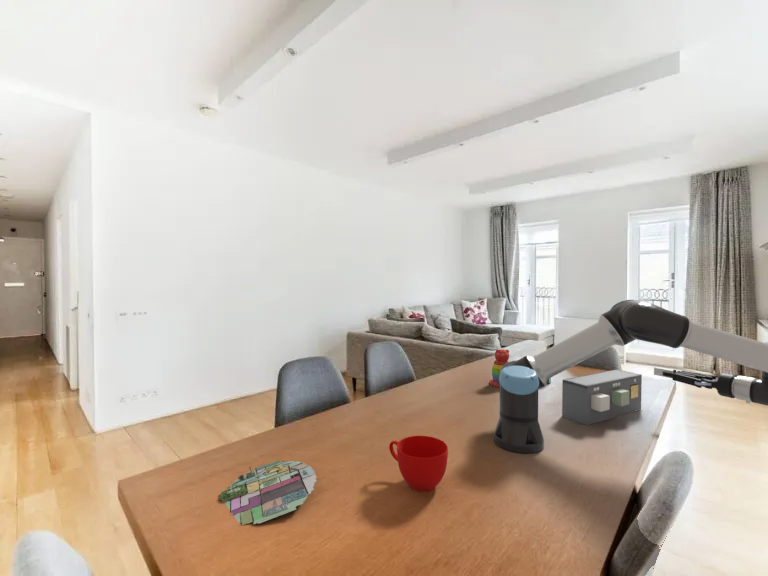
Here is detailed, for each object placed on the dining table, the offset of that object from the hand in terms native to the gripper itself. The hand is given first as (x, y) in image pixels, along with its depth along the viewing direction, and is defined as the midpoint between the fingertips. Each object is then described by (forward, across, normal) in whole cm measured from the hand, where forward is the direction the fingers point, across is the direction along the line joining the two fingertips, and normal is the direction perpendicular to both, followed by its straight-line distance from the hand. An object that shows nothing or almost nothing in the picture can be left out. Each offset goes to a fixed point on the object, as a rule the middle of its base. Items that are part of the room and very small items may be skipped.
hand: (655, 370), depth 141 cm
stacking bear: (+59, -19, -18) cm, 64 cm away
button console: (+13, -12, -18) cm, 25 cm away
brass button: (+10, 0, -12) cm, 16 cm away
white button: (+7, -24, -12) cm, 28 cm away
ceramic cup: (+5, -103, -18) cm, 104 cm away
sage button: (+7, -12, -12) cm, 18 cm away
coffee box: (+53, +3, -18) cm, 56 cm away
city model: (+17, -138, -19) cm, 140 cm away
